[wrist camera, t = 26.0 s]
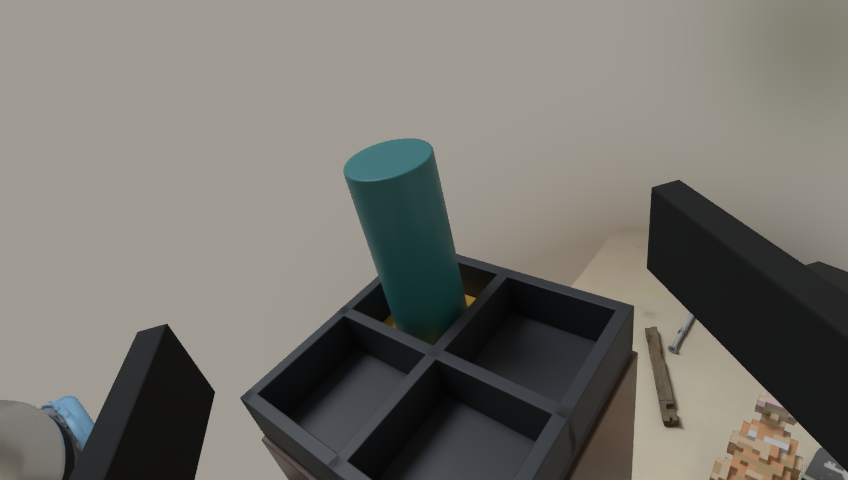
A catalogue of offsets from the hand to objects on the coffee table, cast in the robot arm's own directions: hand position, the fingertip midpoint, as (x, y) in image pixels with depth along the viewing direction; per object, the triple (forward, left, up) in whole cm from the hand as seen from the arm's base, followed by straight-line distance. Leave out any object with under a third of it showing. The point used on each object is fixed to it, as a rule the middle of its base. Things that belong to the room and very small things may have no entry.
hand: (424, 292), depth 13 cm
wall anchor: (+13, +37, -38) cm, 54 cm away
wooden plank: (+13, +29, -37) cm, 48 cm away
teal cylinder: (-4, +8, -10) cm, 14 cm away
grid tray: (-2, +4, -11) cm, 12 cm away
